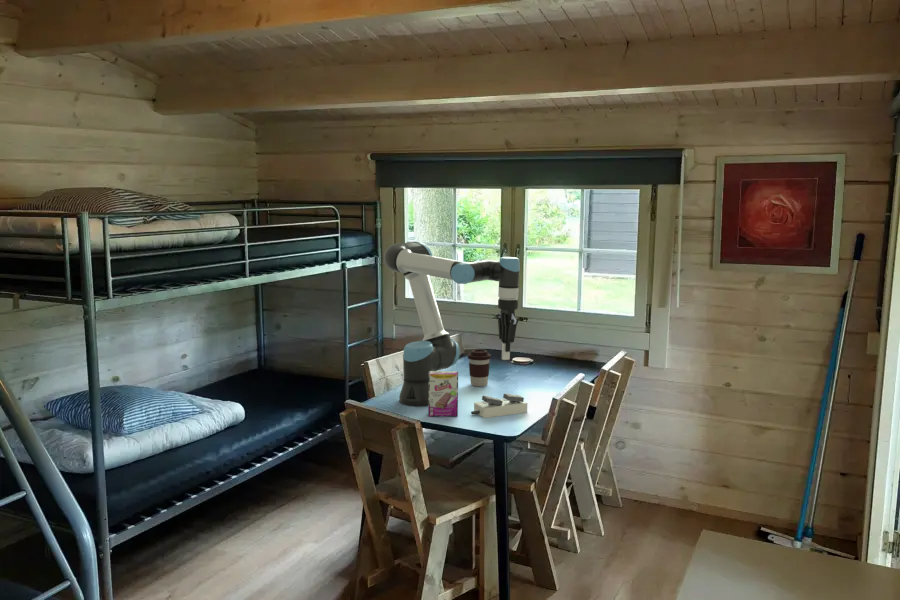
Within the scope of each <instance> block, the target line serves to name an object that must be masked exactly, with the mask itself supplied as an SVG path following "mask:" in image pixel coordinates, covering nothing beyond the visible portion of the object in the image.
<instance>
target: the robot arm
mask: <svg viewBox="0 0 900 600" xmlns="http://www.w3.org/2000/svg"><path fill="white" fill-rule="evenodd" d="M520 261H521V260H520V259H519V258H518V257H514V256H502V257H500V259H499V261H498V260H497V261H496V260H491V259H490V260H488V259H485V258H483V259H481V258H480V259H475V261H470V262H469V261H468V262H467V261H460V260H458V259H457V260H454V259H450V258H443V257H440V256H439V257H438V256H434V253H433V252H432V249H431V248H430V246H429V245H427V243H424V242H422V241H409V242H400V243H399V242H398V243H397V242H396V243H394V244H391V245H389V246H388V247H387V248H386V249H385V251H384V254H383V262H384V264H385V266H386V268H387V269H388V270H390V271H392V272H396V273H401V274H403V277H404V279H406V280H408V282H409V285H410V288H411V292H412V297H413V299H414V303H415V307H416V311H417V314H418V318H419V322H420V325H421V328H422V332H423V335H424V336H423V339H422V340H418V341H417V340H416V341H412V342H409V343H407V344H406V345H405V346H404V347H403V354H402V359H403V360H402V364H403V383H402V387H401V390H400V393H399V403H400V404H402V405H406V406H413V407H423V406H428V383H429V371H441V370H445V369H448V368H450V367H453V366H454V365H456V363H457V362H458V361H459V359H460V353H461V352H460V346H459V344H458V343H457V341H455V340H454V339H453V338H451V335H450V333H449V332H448V331H446V330H445V328H444V324H443V321H442V317H441V314H440V310H439V307H438V304H437V299H436V295H435V293H434V289H433V285H432V282H431V279H430V276H431V277H435V278H440V279H445V280H450V281H454V282H455V283H456V284H459V285H467V284H469V283H470V284H471V283H476V282H477V283H478V282H483V281H491V282H492V281H494V282H498V293H497V294H498V295H497V296H498V299H497V308H498V309H499V310H500V312H499V313H497V314H496V318H497V326H498V339H499V340H501V360H503V361H507V360H508V361H509V360H510V359H511V357H510V356H511V344H512V343H515V336H516V331H517V325H518V323H519V319H517V318H516V313H515V311H516V310H517V309H518V308H519V300H518V298H519V292H520V289H519V287H520V285H519V284H520V283H519V282H520V271H521V268H520V265H521V264H520Z"/></svg>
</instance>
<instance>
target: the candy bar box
mask: <svg viewBox="0 0 900 600" xmlns="http://www.w3.org/2000/svg"><path fill="white" fill-rule="evenodd" d="M427 408H428V409H427V411H428V412H427V413H428V415H427V416H428V417H458V414H459V372H458V371H457V370H453V371H451V370H450V371H449V370H444V371H443V370H442V371H441V370H438V371H429V383H428V405H427Z"/></svg>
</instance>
